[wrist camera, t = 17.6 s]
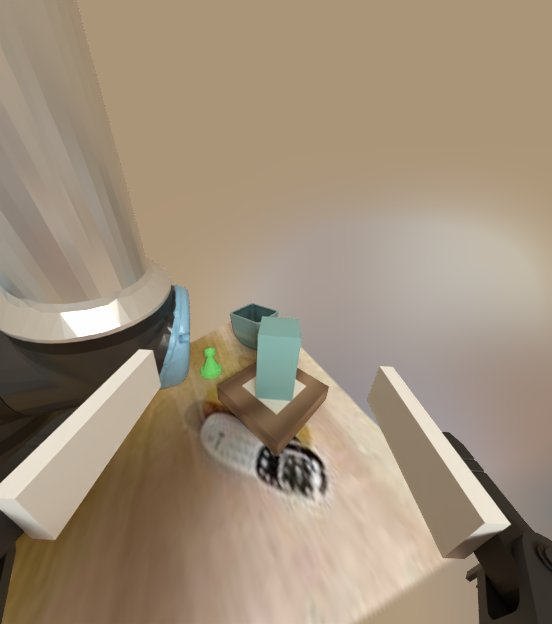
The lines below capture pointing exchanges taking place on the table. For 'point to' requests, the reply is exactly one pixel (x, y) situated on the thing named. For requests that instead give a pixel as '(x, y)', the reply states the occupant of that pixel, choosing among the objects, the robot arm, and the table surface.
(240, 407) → the walnut base
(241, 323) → the flower pot
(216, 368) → the game piece
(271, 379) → the teal pillar block
